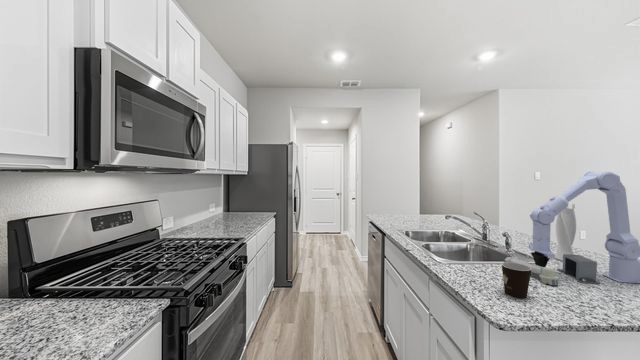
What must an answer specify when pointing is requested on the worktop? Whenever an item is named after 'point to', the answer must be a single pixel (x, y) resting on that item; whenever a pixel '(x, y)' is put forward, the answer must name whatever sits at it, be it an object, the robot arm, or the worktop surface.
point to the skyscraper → (565, 231)
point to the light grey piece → (538, 271)
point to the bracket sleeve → (580, 268)
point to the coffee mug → (516, 279)
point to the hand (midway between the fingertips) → (540, 270)
